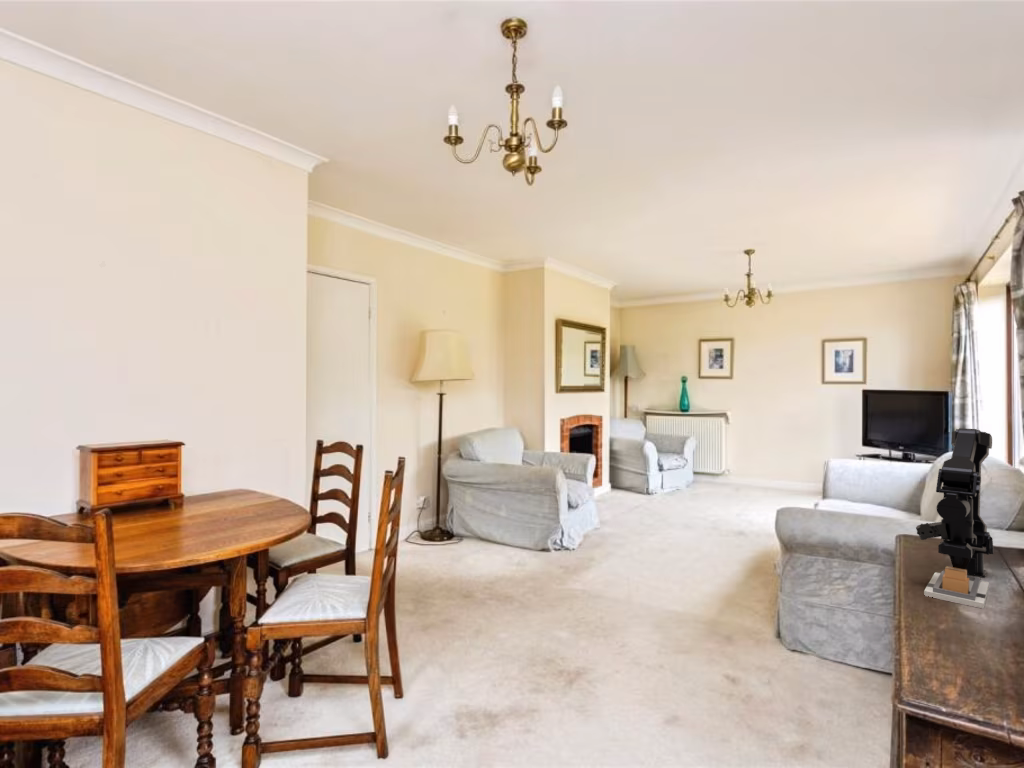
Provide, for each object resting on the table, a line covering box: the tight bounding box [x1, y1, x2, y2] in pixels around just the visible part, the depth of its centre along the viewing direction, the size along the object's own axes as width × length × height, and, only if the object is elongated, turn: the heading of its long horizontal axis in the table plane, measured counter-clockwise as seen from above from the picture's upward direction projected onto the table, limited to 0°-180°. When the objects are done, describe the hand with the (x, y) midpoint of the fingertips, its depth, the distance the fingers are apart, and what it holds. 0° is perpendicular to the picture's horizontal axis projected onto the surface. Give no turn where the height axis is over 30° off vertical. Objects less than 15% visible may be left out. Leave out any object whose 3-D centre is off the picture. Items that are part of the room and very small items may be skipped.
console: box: [923, 570, 990, 609], centre depth 136 cm, size 20×11×2 cm, turn 136°
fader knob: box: [943, 565, 969, 594], centre depth 133 cm, size 4×5×5 cm
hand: (958, 576), depth 137 cm, fingers closed
